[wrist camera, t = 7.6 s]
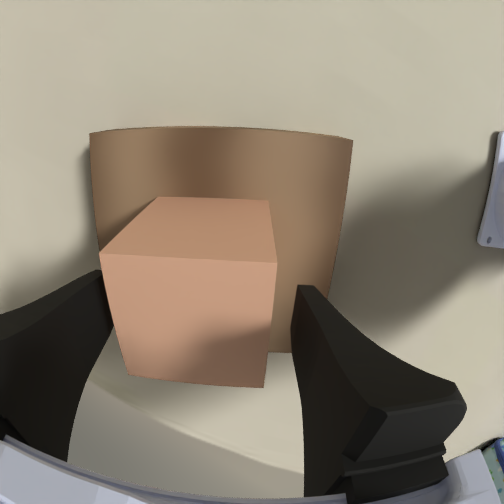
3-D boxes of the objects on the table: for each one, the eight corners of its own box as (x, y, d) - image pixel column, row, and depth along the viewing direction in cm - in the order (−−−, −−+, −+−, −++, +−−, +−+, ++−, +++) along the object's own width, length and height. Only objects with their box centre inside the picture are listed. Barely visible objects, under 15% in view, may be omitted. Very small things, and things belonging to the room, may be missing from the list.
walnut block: (335, 135, 15) (352, 140, 12) (307, 322, 20) (314, 352, 17) (115, 128, 15) (89, 133, 12) (132, 310, 20) (117, 338, 17)
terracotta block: (268, 200, 13) (277, 263, 8) (261, 296, 15) (263, 387, 10) (158, 196, 13) (98, 253, 8) (164, 290, 15) (128, 374, 10)
